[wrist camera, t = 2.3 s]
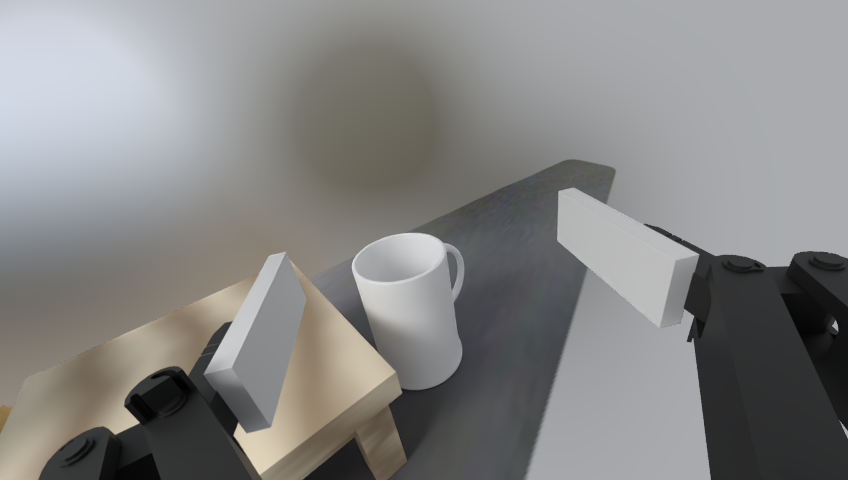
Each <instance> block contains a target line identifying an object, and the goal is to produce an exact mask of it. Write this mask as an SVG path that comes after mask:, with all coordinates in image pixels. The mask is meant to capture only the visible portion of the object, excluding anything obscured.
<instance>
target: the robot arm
mask: <svg viewBox="0 0 848 480" xmlns="http://www.w3.org/2000/svg"><path fill="white" fill-rule="evenodd" d="M557 241H558V242H559V243H561V244H562V245H563V246H564V247H565V248H566V249H567V250H569V251H570V252H571V253H572V254H573V255H574V256H576V257H577V258H578V259H579V260H580V261H581V262H583V263H584V264H585V265H586V266H587V267H588V268H590V269H591V270H592V271H593V272H595V274H597V275H598V276H599V277H600V278H601V279H602V280H604V281H605V282H606V283H607V284H608V285H609V286H611V287H612V288H613V289H614V290H615V291H616V292H618V293H619V294H620V295H621V296H622V297H623V298H625V299H626V300H627V301H628V302H629V303H631V304H632V305H633V306H634V307H635V308H636V309H637V310H638V311H640V312H641V313H642V314H643V315H644V316H646V317H647V318H648V319H649V320H650V321H651V322H652V323H654V324H655V325H656V326H657V327H658V328H663V327H667V326H671V325H675V324H679V323H681V319H682V315H683V312H684V309H685V310H687V311H688V312H690V313H691V314H692V315H694V319H693V323H692V326H691V329H690V332H689V336H688V339H687V342H691V341H692V338H694V346H695V354H696V362H697V370H698V379H699V387H700V394H701V402H702V411H703V419H704V426H705V434H706V443H707V451H708V459H709V467H710V475H711V480H848V438H847V436H846V434H845V432H844V430H843V428H842V425H841V423H842V424H843V425H844V426H845V428H846V429H847V430H848V259H847V258H844V257H841V256H839V255H837V254H833V253H830V254H829V253H828V252H813V251H808V252H800V253H797V254H795V255H794V257H793V259H792V261H791V264H790V266H789V267H766V266H765V265H764V264H762V263H760V262H758V261H756V260H753V259H750V258H747V257H742V256H737V255H720V256H714V255H712V254H710V253H708V252H706V251H704V250H702V249H700V248H698V247H696V246H694V245H692V244H690V243H688V242H686V241H684V240H683V241H682V239H681V238H679V237H677V236H675V235H672V234H671V233H669V232H667V231H665V230H663V229H661V228H659V227H655V226H651V225H648V224H641V223H639V222H637V221H635V220H633V219H631V218H630V217H628V216H626V215H624V214H622V213H620V212H619V211H617V210H615V209H613V208H611V207H609V206H607V205H605V204H604V203H602V202H600V201H598V200H596V199H594V198H592V197H590V196H589V195H587V194H585V193H583V192H581V191H579V190H577V189H575V188H570V189H565V190H561V191H559V199H558V231H557ZM306 300H307V298H306V296H305V294H304V292H303V289H302V287H301V285H300V282H299V280H298V278H297V275H296V273H295V271H294V269H293V266H292V264H291V262H290V260H289V257H288V255H287V253H286V252H283V253H279V254H274V255H270V256H269V257H268V259H267V261H266V263H265V264H264V266H263V268H262V270H261V272H260V273H259V275H258V277H257V279H256V281H255V282H254V284H253V286H252V288H251V290H250V291H249V293H248V295H247V297H246V299H245V300H244V302H243V304H242V306H241V308H240V309H239V311H238V313H237V315H236V317H235V318H234V320H233V321H231V322H226V323H224V324H223V325H222V326H221V327H220V328H219V329H218V330H217V331H216V332H215V333H214V334H213V335H212V337H211V339H210V340H209V342H208V344H207V347H205V349H204V350H203V352H202V353H201V357H199V358H198V360H197V362H196V363H195V365H194V367H193V368H192V370H191V372H190V373H189V375H188V376H187V374H186V373H185V372H184V370H183V369H182V368H180V367H178V366H170V367H167V368H163V369H160V370H158V371H156V372H154V373H153V374H151V375H149V376H147V377H146V378H145V379H143V380H142V381H140V382H139V383H138V384H137V385H136V386H135V387H134V388H133V389H132V390H131V391H130V392H129V394H128V395H127V397H126V399H125V402H124V407H125V408H126V409H127V410H128V411H129V412H130V413H131V414H132V415H133V416H134V417H135V418H136V419H137V420H138V421H139V422H140V423H139V424H137V425H135V426H133V427H130V428H128V429H126V430H124V431H122V432H120V433H118V434H116V435H115V434H114V433H113V432H112V431H110V430H109V429H108V428H106V427H104V426H101V427H94V428H92V429H90V430H87V431H85V432H83V433H81V434H79V435H78V436H76V437H74V438H72V439H71V440H69V441H68V442H67V443H66V444H65V445H63V446H62V447H61V448H59V449H58V450H57V452H56V453H55V454H54V455H53V456H52V457H51V458H50V459H49V460H48V461H47V463H46V465H45V466H44V468H43V470H42V471H41V474H40V476H39V479H38V480H262V478H261V477H260V475H259V474H258V472H257V470H256V469H255V467H254V466H253V464H252V463H251V461H250V459H249V458H248V456H247V455H246V453H245V452H244V450H243V448H242V447H241V445H240V444H239V442H238V441H237V439H236V438H235V437H234V433H235V430H236V428H237V425H238V423H239V424H240V425H241V427H242V428H243V429H244V431H245V432H246V434H247V433H251V432H255V431H259V430H263V429H267V428H271V426H272V422H273V419H274V415H275V412H276V408H277V404H278V401H279V397H280V394H281V390H282V386H283V383H284V379H285V376H286V372H287V368H288V365H289V361H290V357H291V354H292V350H293V347H294V343H295V339H296V336H297V332H298V329H299V325H300V321H301V318H302V314H303V311H304V307H305V303H306ZM835 320H836V322H837V324H838V331H837V330H836V329H835V328H833V327H832V325H833V324H834V322H835ZM839 420H840V421H841V423H840V421H839Z"/></svg>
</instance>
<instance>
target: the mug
mask: <svg viewBox="0 0 848 480" xmlns="http://www.w3.org/2000/svg"><path fill="white" fill-rule="evenodd" d="M446 252H451V253H452V254H453V255H454V256H455V258H456V260H457V265H458V273H457V279H456V282H455V285H454V287H453V289H451V282H450V275H449V268H448V261H447V254H446ZM352 271H353V274H354V277H355V281H356V284H357V287H358V290H359V293H360V296H361V300H362V303H363V306H364V309H365V312H366V315H367V318H368V322H369V325H370V328H371V331H372V334H373V337H374V341H375V344H376V347H377V350H378V353H379V354H380V355H381V357H382V358H383V359H384V360H385V361H386V362H387V363H388V364H389V365H390V366H391V367H392V368H393V369H394V370H395V371H396V373H397V377H398V380H399V384H400V387H401V388H403V389H408V390H423V389H428V388H431V387H434V386H437V385H439V384H441V383H442V382H444V381H445V380H447V379H448V378H449V377H450V376H451V375H452V374H453V373H454V372H455V371H456V369H457V368H458V366H459V364H460V362H461V359H462V344H461V341H460V338H459V336H458V331H457V325H456V318H455V311H454V302H455V300H456V298H457V296H458V294H459V292H460V290H461V287H462V283H463V279H464V262H463V258H462V256H461V254H460V252H459V251H458V250H457V249H456V248H455V247H454V246H452V245H450V244H447V243H442V241H440V240H439V239H438V238H436V237H434V236H431V235H428V234H423V233H403V234H397V235H392V236H389V237H385V238H382V239H380V240H377V241H375V242H373V243H371V244H370V245H368V246H366V247H365V248H364V249H362V250H361V251H360V252H359V253H358V255H356V257H355V258H354V260H353V263H352Z"/></svg>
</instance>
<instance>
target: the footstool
mask: <svg viewBox="0 0 848 480" xmlns="http://www.w3.org/2000/svg"><path fill="white" fill-rule="evenodd" d="M290 262H291V261H290ZM291 264H292V266H293V269H294V271H295V273H296V275H297V278H298V280H299V282H300V285H301V287H302V289H303V292H304V294H305V296H306V298H307V300H306V303H305V307H304V311H303V314H302V318H301V321H300V325H299V329H298V332H297V336H296V339H295V343H294V347H293V350H292V354H291V357H290V361H289V365H288V368H287V372H286V376H285V379H284V383H283V386H282V390H281V394H280V397H279V401H278V404H277V408H276V412H275V415H274V419H273V422H272V426H271V428H267V429H263V430H259V431H255V432H251V433H247V434H246V432H245V431H244V429H243V428H242V427H241V425H240V424H239V423H238V425H237V428H236V430H235V433H234V437H235V438H236V439H237V441H238V442H239V444H240V445H241V447H242V448H243V450H244V452H245V453H246V455H247V456H248V458H249V459H250V461H251V463H252V464H253V466H254V467H255V469H256V470H257V472H258V474H259V475H260V477H261V478H262V480H303V479H304V478H305V477H306V476H308V475H309V474H310V473H311V472H312V471H314V470H315V469H316V468H317V467H319V466H320V465H321V464H322V463H324V462H325V461H326V460H327V459H328V458H330V457H331V456H332V455H333V454H335V453H336V452H337V451H338V450H339V449H341V448H342V447H343V446H344V445H346V444H347V443H348V442H349V441H350V440H352V439H353V438H355V440H356V442H357V445H358V447H359V449H360V451H361V454H362V456H363V458H364V460H365V462H366V463H367V465H368V467H369V468H370V470H371V472H372V473H373V475H374V476H375V478H376V480H388V479H389V478H390V477H391V476H392V475H393V474H394V473H396V472H397V471H398V470H399V469H400V468H401V467H402V466H403V465H404V464H405V463H406V462H407V459H406V456H405V453H404V450H403V446H402V443H401V440H400V437H399V434H398V431H397V428H396V425H395V422H394V419H393V416H392V413H391V410H390V407H389V404H390V403H391V402H392V401H393V400H395V399H396V398H397V397H398V396H400V395H401V394H402V391H401V387H400V384H399V380H398V377H397V373H396V371H395V370H394V369H393V368H392V367H391V366H390V365H389V364H388V363H387V362H386V361H385V360H384V359H383V358H382V357H381V355H380V354H379V353H378V352H377V351H376V350H375V349H374V348H373V347H372V346H371V345H370V344H369V343H368V342H367V341H366V340H365V339H364V338H363V337H362V335H361V334H360V333H359V332H358V331H357V330H356V329H355V328H354V327H353V326H352V325H351V324H350V323H349V322H348V321H347V320H346V319H345V318H344V317H343V315H342V314H341V313H340V312H339V311H338V310H337V309H336V308H335V307H334V306H333V305H332V304H331V303H330V302H329V301H328V300H327V299H326V298H325V297H324V295H323V294H322V293H321V292H320V291H319V290H318V289H317V288H316V287H315V286H314V285H313V284H312V283H311V282H310V281H309V280H308V279H307V278H306V277H305V276H304V275H303V273H302V272H301V271H300V270H299V269H298V268H297V267H296V266H295V265H294V264H293V263H292V262H291ZM258 275H259V274H257V275H254V276H252V277H250V278H248V279H246V280H243V281H241V282H239V283H237V284H234V285H232V286H230V287H228V288H225V289H224V290H221V291H219V292H217V293H214V294H212V295H210V296H208V297H205V298H203V299H201V300H199V301H197V302H194V303H192V304H190V305H188V306H185V307H183V308H181V309H179V310H176V311H174V312H172V313H170V314H168V315H166V316H163V317H161V318H159V319H156V320H154V321H152V322H150V323H148V324H145V325H143V326H141V327H139V328H137V329H134V330H132V331H130V332H128V333H125V334H123V335H121V336H119V337H116V338H114V339H112V340H110V341H108V342H105V343H103V344H101V345H99V346H96V347H94V348H92V349H90V350H88V351H85V352H83V353H81V354H79V355H77V356H74V357H72V358H70V359H68V360H65V361H63V362H61V363H59V364H56V365H54V366H52V367H50V368H48V369H45V370H43V371H41V372H39V373H36V374H34V375H32V376H30V377H28V378H26V380H25V382H24V384H23V386H22V388H21V391H20V393H19V395H18V397H17V399H16V401H15V404H14V406H13V408H12V410H11V412H10V414H9V416H8V418H7V421H6V423H5V425H4V427H3V429H2V431H1V434H0V480H38V479H39V476H40V474H41V471H42V470H43V468H44V466H45V465H46V463H47V461H48V460H49V459H50V458H51V457H52V456H53V455H54V454H55V453H56V452H57V450H58V449H59V448H61V447H62V446H63V445H65V444H66V443H67V442H68V441H69V440H71V439H72V438H74V437H76V436H78V435H79V434H81V433H83V432H85V431H87V430H90V429H92V428H94V427H101V426H104V427H106V428H108V429H109V430H110V431H112V432H113V433H114V434H115V435H116V434H118V433H120V432H122V431H124V430H126V429H128V428H130V427H133V426H135V425H137V424H139V423H140V422H139V421H138V420H137V419H136V418H135V417H134V416H133V415H132V414H131V413H130V412H129V411H128V410H127V409H126V408H125V407H124V402H125V399H126V397H127V395H128V394H129V392H130V391H131V390H132V389H133V388H134V387H135V386H136V385H137V384H138V383H139V382H140V381H142V380H143V379H145V378H146V377H147V376H149V375H151V374H153V373H154V372H156V371H158V370H160V369H163V368H167V367H170V366H178V367H180V368H182V369H183V370H184V372H185V373H186V374H187V376H188V375H189V373H190V372H191V370H192V368H193V367H194V365H195V363H196V362H197V360H198V358H199V357H201V353H202V352H203V350H204V349H205V347H207V344H208V342H209V340H210V339H211V337H212V335H213V334H214V333H215V332H216V331H217V330H218V329H219V328H220V327H221V326H222V325H223V324H224V323H226V322H231V321H233V320H234V318H235V317H236V315H237V313H238V311H239V309H240V308H241V306H242V304H243V302H244V300H245V299H246V297H247V295H248V293H249V291H250V290H251V288H252V286H253V284H254V282H255V281H256V279H257V277H258Z"/></svg>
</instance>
